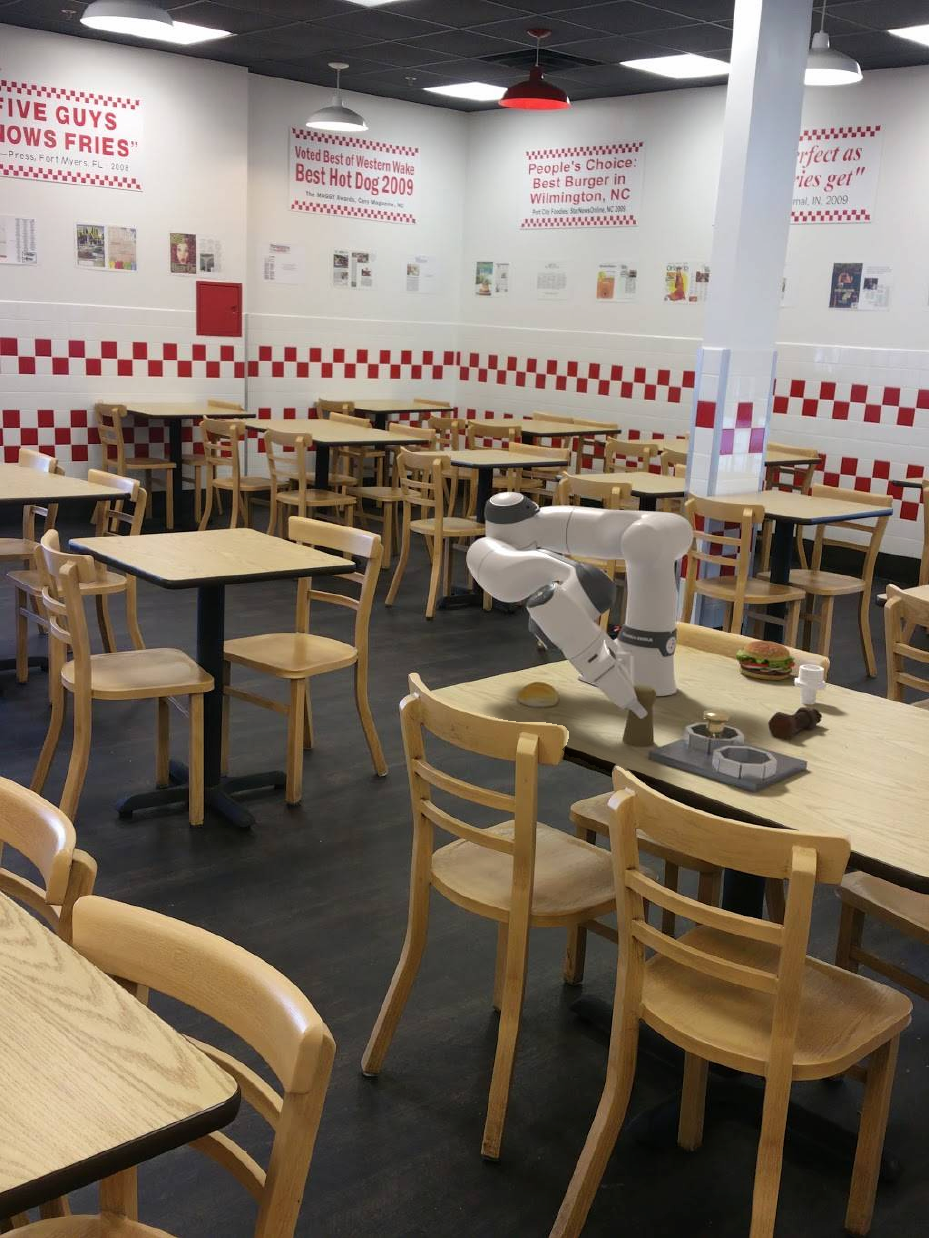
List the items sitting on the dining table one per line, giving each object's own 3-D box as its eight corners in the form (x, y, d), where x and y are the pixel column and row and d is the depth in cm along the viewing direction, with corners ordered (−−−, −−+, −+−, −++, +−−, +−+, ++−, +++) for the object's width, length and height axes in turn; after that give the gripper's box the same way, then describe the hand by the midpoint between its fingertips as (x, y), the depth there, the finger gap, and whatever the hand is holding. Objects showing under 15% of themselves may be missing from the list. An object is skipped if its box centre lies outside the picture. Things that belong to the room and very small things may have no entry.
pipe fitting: (830, 705, 261) (834, 670, 259) (802, 707, 258) (806, 671, 257) (812, 697, 267) (817, 663, 265) (785, 699, 264) (789, 664, 262)
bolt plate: (647, 758, 219) (651, 719, 217) (702, 738, 233) (706, 701, 231) (754, 792, 204) (759, 751, 203) (806, 769, 218) (811, 730, 217)
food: (747, 663, 295) (751, 632, 293) (801, 675, 286) (805, 643, 284) (721, 672, 284) (725, 640, 282) (776, 685, 276) (780, 652, 274)
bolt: (816, 734, 247) (781, 746, 236) (798, 717, 249) (763, 728, 238) (832, 714, 244) (798, 725, 233) (814, 697, 246) (779, 707, 235)
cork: (634, 748, 224) (639, 692, 222) (616, 738, 230) (621, 683, 227) (660, 744, 227) (665, 689, 225) (641, 735, 232) (646, 681, 230)
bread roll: (514, 706, 248) (516, 687, 247) (523, 694, 256) (524, 677, 255) (554, 710, 246) (555, 692, 245) (561, 699, 254) (562, 681, 253)
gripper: (579, 652, 236) (624, 703, 238) (584, 679, 216) (634, 734, 218) (603, 632, 235) (649, 683, 236) (611, 657, 215) (660, 713, 217)
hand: (641, 708), depth 227 cm, fingers open, 8 cm apart
